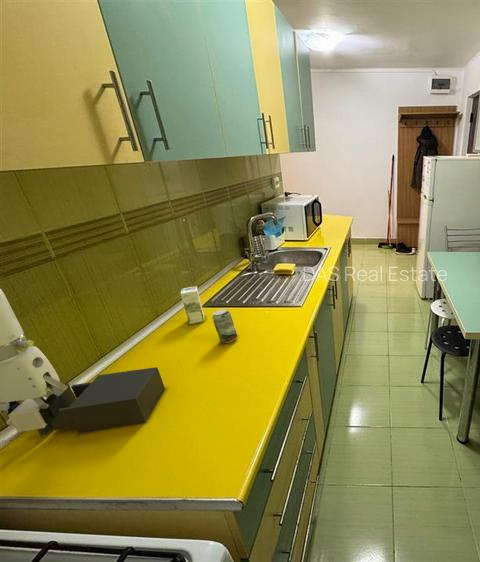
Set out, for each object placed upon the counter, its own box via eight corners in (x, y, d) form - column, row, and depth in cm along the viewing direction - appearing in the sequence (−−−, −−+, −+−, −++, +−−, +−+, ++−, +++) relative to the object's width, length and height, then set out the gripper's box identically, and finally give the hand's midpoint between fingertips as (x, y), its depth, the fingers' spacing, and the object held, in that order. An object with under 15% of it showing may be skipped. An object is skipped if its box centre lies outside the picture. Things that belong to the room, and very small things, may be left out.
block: (17, 432, 62) (7, 415, 60) (34, 415, 66) (26, 399, 64) (44, 428, 63) (34, 411, 61) (59, 411, 67) (51, 395, 65)
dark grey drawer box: (79, 433, 76) (66, 409, 73) (108, 397, 87) (98, 375, 84) (145, 422, 79) (135, 398, 75) (165, 389, 90) (157, 366, 87)
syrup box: (204, 315, 131) (196, 285, 126) (204, 322, 127) (196, 290, 121) (189, 319, 129) (180, 288, 123) (189, 325, 124) (180, 293, 119)
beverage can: (229, 346, 110) (222, 317, 105) (213, 342, 112) (206, 314, 108) (242, 337, 115) (236, 309, 111) (226, 333, 118) (220, 306, 113)
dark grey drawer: (5, 441, 73) (-9, 422, 70) (41, 406, 83) (31, 388, 81) (104, 425, 77) (95, 406, 74) (127, 393, 87) (120, 376, 85)
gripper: (65, 333, 63) (96, 401, 70) (-38, 343, 59) (5, 413, 66) (37, 355, 56) (74, 428, 63) (-81, 367, 52) (-29, 443, 59)
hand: (38, 420), depth 64 cm, fingers closed on block, 4 cm apart
